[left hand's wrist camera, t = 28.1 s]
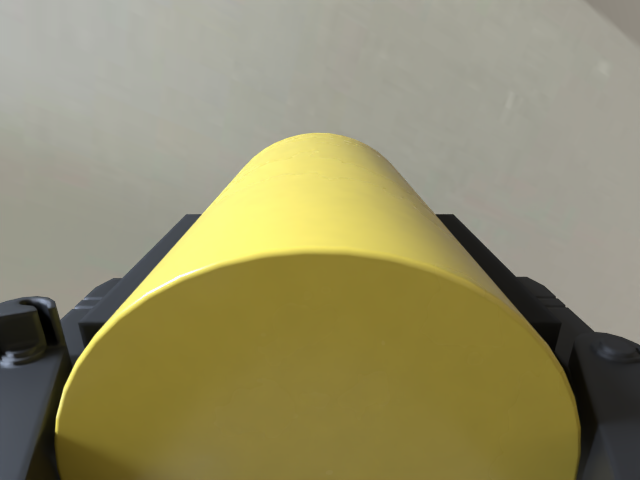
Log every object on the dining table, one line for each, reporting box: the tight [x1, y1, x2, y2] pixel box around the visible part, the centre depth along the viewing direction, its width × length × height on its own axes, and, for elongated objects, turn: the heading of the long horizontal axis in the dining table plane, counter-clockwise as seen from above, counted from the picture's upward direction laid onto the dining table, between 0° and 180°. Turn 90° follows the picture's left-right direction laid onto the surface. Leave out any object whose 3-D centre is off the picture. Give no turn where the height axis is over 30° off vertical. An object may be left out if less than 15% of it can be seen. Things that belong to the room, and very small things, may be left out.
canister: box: [54, 133, 581, 480], centre depth 11 cm, size 7×7×11 cm
